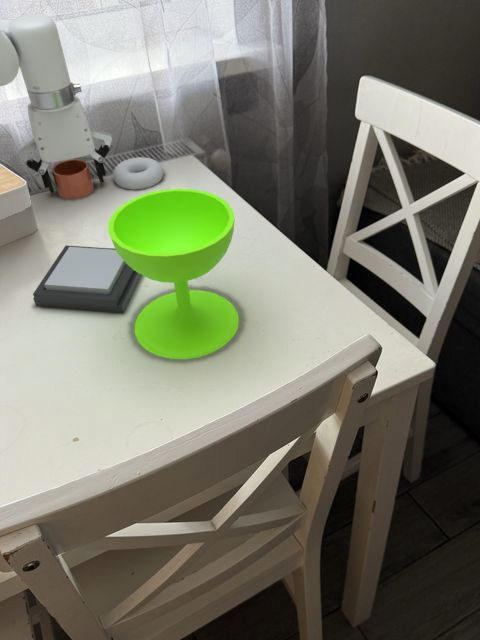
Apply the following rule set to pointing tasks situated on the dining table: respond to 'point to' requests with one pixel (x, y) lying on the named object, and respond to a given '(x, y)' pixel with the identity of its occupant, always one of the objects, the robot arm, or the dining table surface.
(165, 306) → the wineglass
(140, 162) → the donut
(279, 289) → the dining table surface
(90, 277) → the grey square slab
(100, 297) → the scale
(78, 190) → the cup
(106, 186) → the dining table surface
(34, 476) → the dining table surface
